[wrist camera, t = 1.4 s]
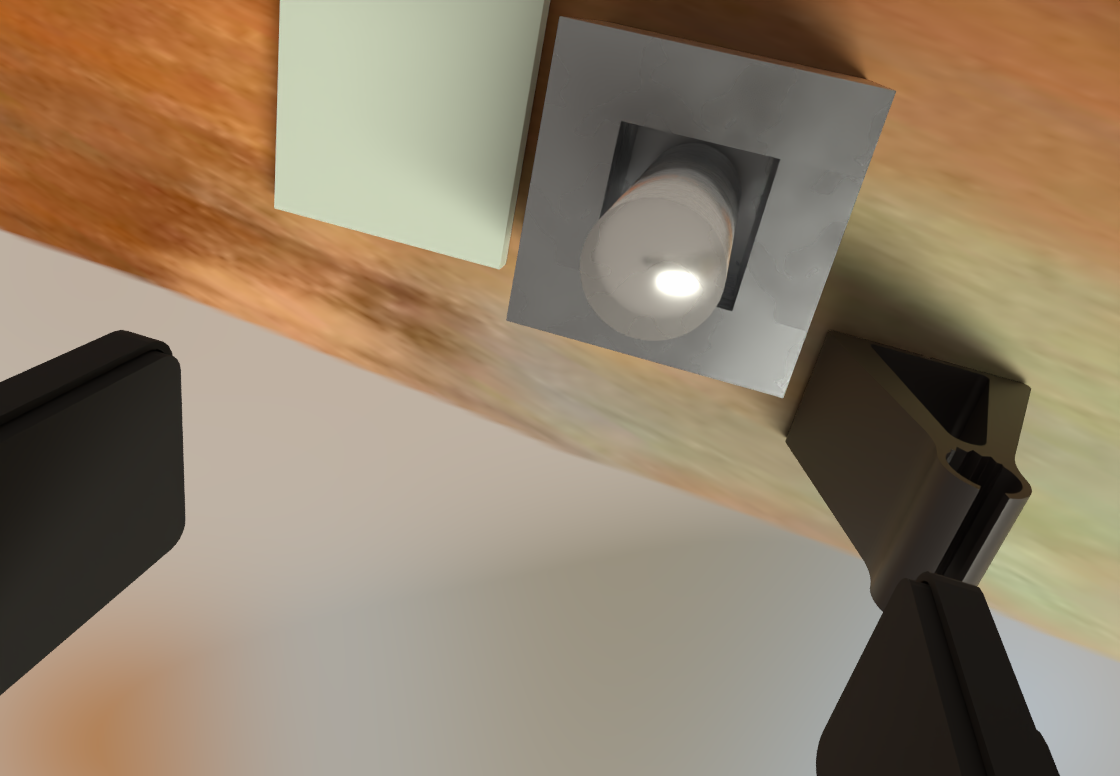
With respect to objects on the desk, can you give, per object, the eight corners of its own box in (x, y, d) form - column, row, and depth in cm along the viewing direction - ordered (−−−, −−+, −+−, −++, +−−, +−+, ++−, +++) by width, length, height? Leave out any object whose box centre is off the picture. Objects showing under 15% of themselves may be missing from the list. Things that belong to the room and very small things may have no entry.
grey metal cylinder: (754, 156, 31) (745, 218, 20) (725, 252, 32) (703, 357, 22) (655, 132, 31) (596, 181, 20) (632, 229, 33) (566, 319, 22)
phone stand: (1028, 384, 34) (1144, 538, 24) (969, 493, 37) (1049, 675, 26) (828, 327, 36) (853, 450, 25) (784, 437, 38) (790, 590, 28)
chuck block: (867, 79, 31) (896, 90, 24) (780, 327, 36) (782, 398, 29) (605, 21, 33) (559, 16, 26) (556, 267, 38) (506, 320, 30)
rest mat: (551, -5, 33) (544, -6, 32) (505, 264, 38) (499, 269, 37) (294, -61, 34) (281, -64, 33) (285, 204, 40) (274, 208, 39)
